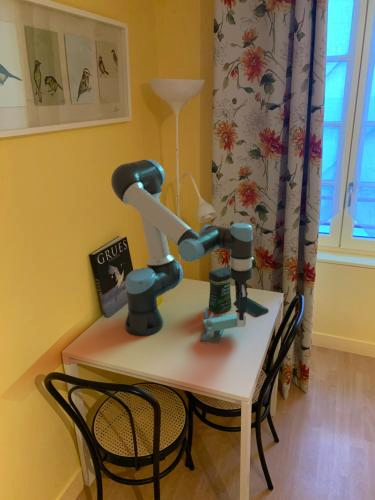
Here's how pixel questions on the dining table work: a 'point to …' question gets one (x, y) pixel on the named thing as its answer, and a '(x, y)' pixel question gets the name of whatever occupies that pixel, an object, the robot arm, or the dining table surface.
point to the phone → (255, 308)
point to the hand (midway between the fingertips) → (240, 325)
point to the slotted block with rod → (214, 335)
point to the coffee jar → (220, 290)
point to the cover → (221, 322)
